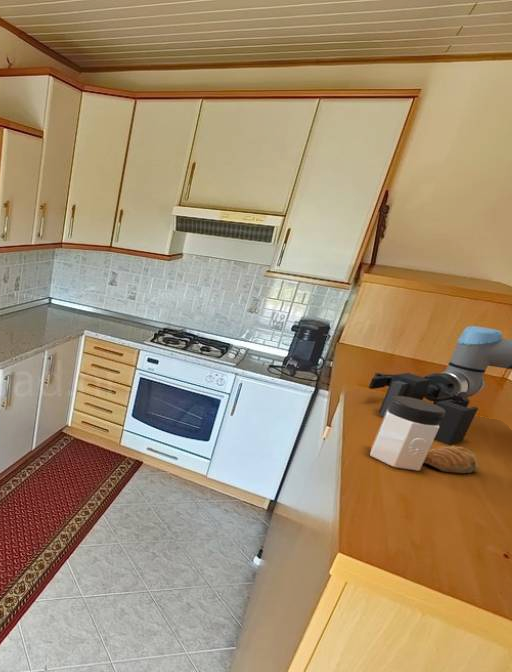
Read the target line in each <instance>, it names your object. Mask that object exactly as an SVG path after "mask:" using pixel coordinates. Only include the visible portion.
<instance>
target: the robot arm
mask: <svg viewBox="0 0 512 672" xmlns="http://www.w3.org/2000/svg"><path fill="white" fill-rule="evenodd" d="M488 367H494V368H500V369H507V370H512V339H509V338H503V332H502V331H500V330H497V329H494V328H489V327H483V326H477V325H476V326H475V325H470V326H467V327H465V328H464V330H463V332H462V333H461V335H460V337H459V338H458V340H457V342H456V345H455V347H454V350H453V353H452V355H451V358H450V360H449V362H448V364H447V366H446V368H445V371H440V372H434V373H429V374H427V375H425V376H423V377H424V378H427V379H431V382H430V384H429V386H428V389H427V391H426V393H425V396H424V398H423V399H426V400H427V401H430V402H433V403H432V404H435V405H436V402H440V401H445V400H450V399H451V400H454V404H457V405H461V406H464V407H467V408H469V405H470V402H471V401H470V399H469V397H472V396H474V395H476V394H478V393H479V392H481V391H482V390H483V388H484V386H485V379H484V377H483V376H484V374H485V372H486V371H487V369H488ZM394 375H395V374H394V373H384V372H383V373H382V372H375V373H374V376H373V377H372V378H371V381H370V383H369V385H368V389H371V390H374V389H381V388H385V387H389V386H390V383H391V381H392V378H393V376H394Z"/></svg>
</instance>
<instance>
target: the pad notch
mask: <svg viewBox="0 0 512 672" xmlns="http://www.w3.org/2000/svg"><path fill="white" fill-rule="evenodd" d="M436 405H437V406H440V407H441V408H443V409H444V410H445V414H444V418H443V420H442V421H441V423H440V424H439V429H438V432H437V434H436V436H435V438H434V440H436V441H439V442H442V443H444V444H446V445H453V444H455V443H459V442H462V441H464V439H465V437H466V435H467V432H468V431H469V429H470V426H471V425H472V422H473V420H474V418H475V416H476V413H477V411H478V410H479V407H478V406H472V407H464V406H461V405H457V404H454V400H451V399H450V400H445V401H440V402H436Z"/></svg>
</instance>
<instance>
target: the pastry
mask: <svg viewBox="0 0 512 672" xmlns="http://www.w3.org/2000/svg"><path fill="white" fill-rule="evenodd" d="M423 464H427V465H429V466H431V467H434V468H436V469H438V470H440V471H441V472H445V473H453V474H466V473H468V474H471V473H472V472H474V471H476V470H478V469H479V464H478V460H477V458H476V454H475V453H474V452H472V451H471V450H470V449H468V448H466V447H463V446H456V445H451V446H442V445H441V446H436V447H434V448H430V449H429V451H428V454H427V456H426V458H425V460H424V462H423Z"/></svg>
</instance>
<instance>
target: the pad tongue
mask: <svg viewBox="0 0 512 672" xmlns="http://www.w3.org/2000/svg"><path fill="white" fill-rule="evenodd" d="M424 377H425V376H420V375H416V374H414V373H411V372H405V373H404V372H403V373H397V374H394V376H393V378H392V381H391V383H390V386H388V388H387V391H386V393H385V396H384V398H383V400H382V403H381V405H380V408H379V410H378V413H379V415H378V416H379V417H381V418H384V415H385V413H386V411H387V408H388V406H389V403H390V401H391V398H392V397H394V396H404V397H410V398H415V399H419V400H423V401H424V399H425V398H424V396H425V393H426V391H427V389H428V386H429V384H430V382H431V379H427V378H424Z"/></svg>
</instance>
